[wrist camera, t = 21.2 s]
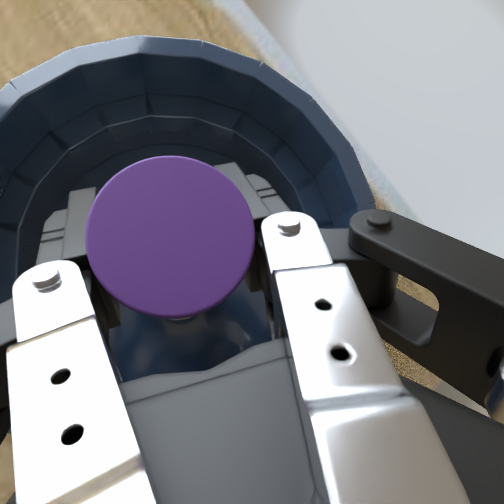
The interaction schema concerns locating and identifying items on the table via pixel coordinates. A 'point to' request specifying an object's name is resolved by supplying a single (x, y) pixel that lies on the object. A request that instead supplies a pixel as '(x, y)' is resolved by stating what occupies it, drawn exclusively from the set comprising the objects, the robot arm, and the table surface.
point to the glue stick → (170, 237)
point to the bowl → (165, 144)
